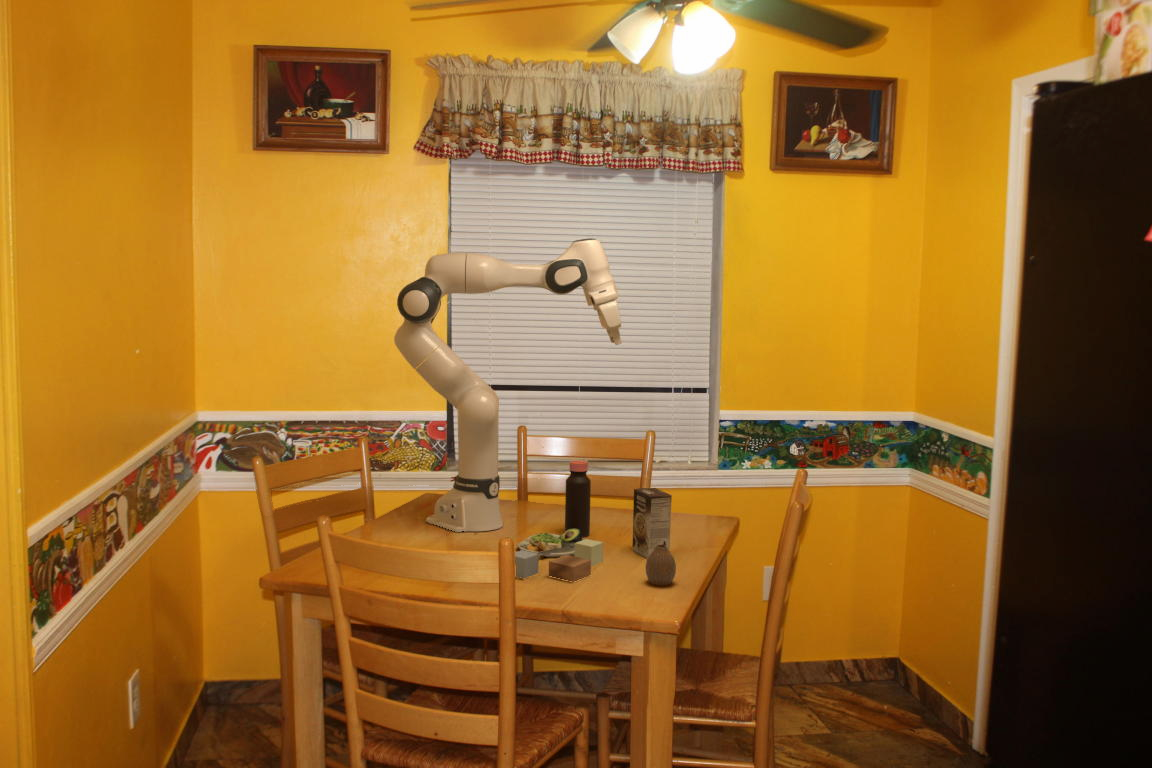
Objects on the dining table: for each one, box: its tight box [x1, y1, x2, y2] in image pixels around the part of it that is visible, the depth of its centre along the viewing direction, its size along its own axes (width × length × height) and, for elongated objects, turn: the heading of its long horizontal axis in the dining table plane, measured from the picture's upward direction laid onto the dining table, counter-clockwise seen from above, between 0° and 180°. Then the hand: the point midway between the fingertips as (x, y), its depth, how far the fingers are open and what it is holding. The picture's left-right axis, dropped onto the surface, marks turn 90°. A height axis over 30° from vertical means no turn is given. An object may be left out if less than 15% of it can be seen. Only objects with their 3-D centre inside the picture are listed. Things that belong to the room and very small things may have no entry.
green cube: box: [573, 538, 604, 567], centre depth 228 cm, size 5×5×5 cm
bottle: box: [564, 460, 592, 538], centre depth 252 cm, size 7×7×20 cm
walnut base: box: [548, 555, 592, 582], centre depth 216 cm, size 7×7×4 cm
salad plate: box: [517, 529, 586, 558], centre depth 238 cm, size 19×18×5 cm
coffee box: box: [631, 487, 673, 560], centre depth 235 cm, size 9×6×16 cm
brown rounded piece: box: [645, 544, 677, 587], centre depth 212 cm, size 7×7×9 cm
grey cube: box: [514, 550, 540, 579], centre depth 216 cm, size 5×5×5 cm
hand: (616, 343), depth 258 cm, fingers open, 8 cm apart
